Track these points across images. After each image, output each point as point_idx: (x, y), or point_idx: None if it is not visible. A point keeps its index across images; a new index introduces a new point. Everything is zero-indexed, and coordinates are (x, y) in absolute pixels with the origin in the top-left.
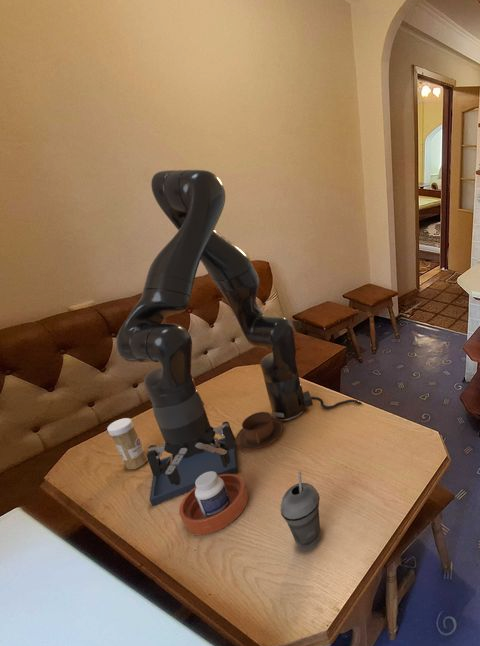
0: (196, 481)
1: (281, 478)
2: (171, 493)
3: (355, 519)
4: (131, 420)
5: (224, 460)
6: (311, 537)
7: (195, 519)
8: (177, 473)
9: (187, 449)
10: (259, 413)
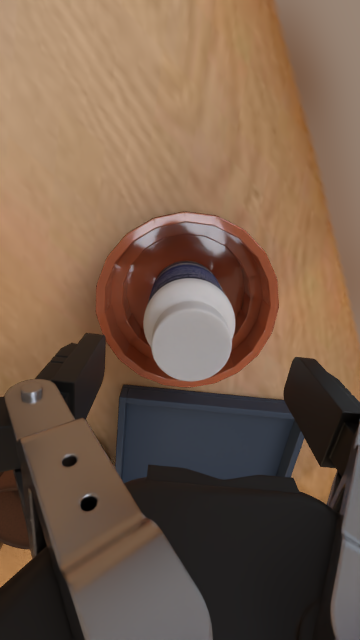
0: (225, 354)
1: (16, 287)
2: (267, 407)
3: None
4: None
5: (75, 354)
6: None
7: (237, 294)
8: (307, 411)
9: (300, 599)
10: (18, 542)
